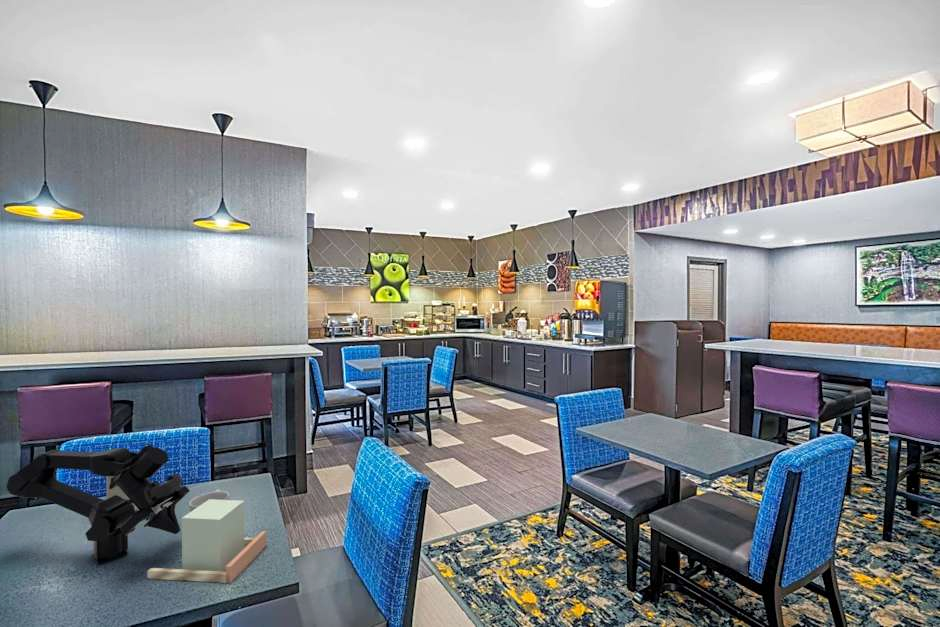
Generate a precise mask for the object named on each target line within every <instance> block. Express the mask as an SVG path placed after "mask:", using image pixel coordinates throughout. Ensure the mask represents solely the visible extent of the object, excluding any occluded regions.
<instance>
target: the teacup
mask: <svg viewBox="0 0 940 627" xmlns="http://www.w3.org/2000/svg"><path fill="white" fill-rule="evenodd" d="M209 499H214V500H230V493H229V492H228V491H223V490H222V489H220V488H219V489H215V491H211V492H205V493H202V494H200V495H197V496H195V497H193V498H192V499H191V500H190V501H189V502H188V505H189V513H190V512H191V511H193V510H194V509H196V508H197V507H199V506H200V505H202V504H203V503H205V502H206V501H207V500H209Z"/></svg>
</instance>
